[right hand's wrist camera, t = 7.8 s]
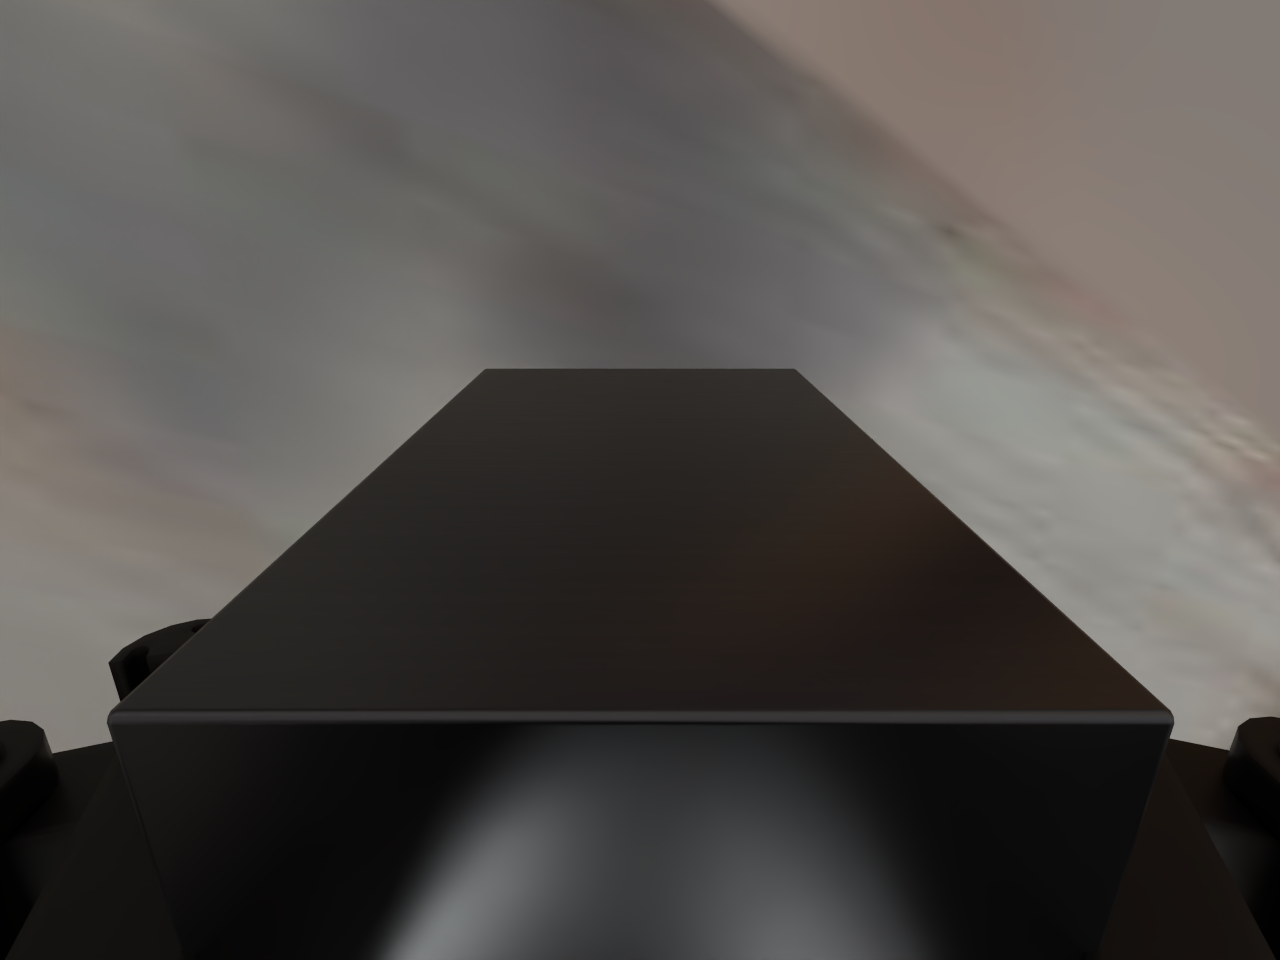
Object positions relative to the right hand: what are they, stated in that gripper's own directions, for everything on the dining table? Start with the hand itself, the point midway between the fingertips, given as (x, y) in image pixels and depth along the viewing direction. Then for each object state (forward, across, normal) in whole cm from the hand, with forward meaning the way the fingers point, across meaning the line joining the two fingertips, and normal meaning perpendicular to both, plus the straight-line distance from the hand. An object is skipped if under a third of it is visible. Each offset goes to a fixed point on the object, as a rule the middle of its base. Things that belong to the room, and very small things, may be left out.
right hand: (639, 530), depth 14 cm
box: (+1, 0, -8) cm, 8 cm away
